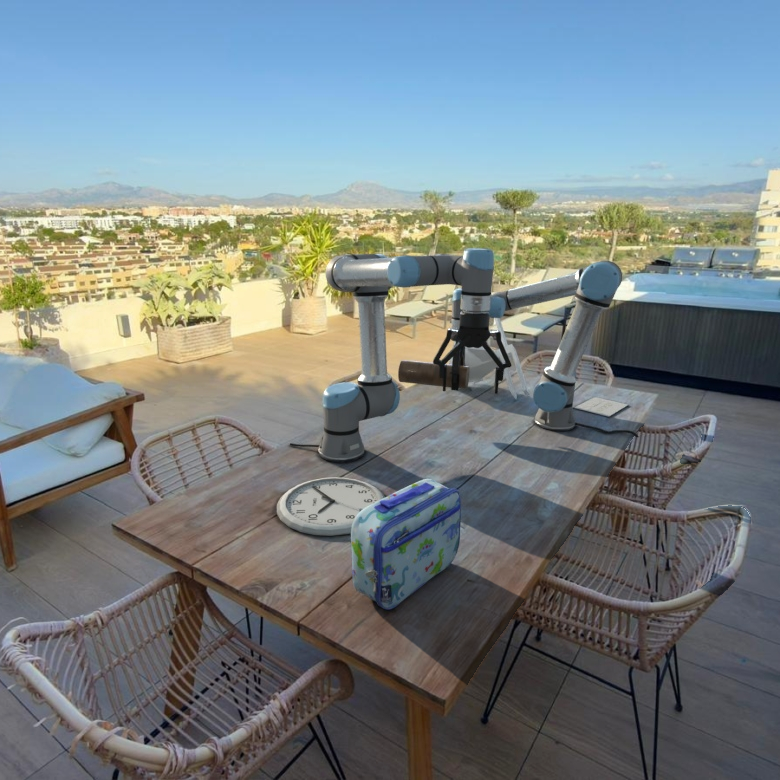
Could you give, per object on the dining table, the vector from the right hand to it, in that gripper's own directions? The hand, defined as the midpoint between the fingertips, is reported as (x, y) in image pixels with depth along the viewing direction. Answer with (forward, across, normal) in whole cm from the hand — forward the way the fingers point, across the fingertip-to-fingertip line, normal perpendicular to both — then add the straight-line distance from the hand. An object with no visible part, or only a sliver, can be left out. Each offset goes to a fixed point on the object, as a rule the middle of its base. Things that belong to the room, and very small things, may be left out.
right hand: (457, 386), depth 205 cm
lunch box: (+13, +103, +9) cm, 104 cm away
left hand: (-18, +62, +14) cm, 66 cm away
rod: (0, 0, -10) cm, 10 cm away
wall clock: (+13, +79, -19) cm, 82 cm away
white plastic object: (+13, -38, +4) cm, 41 cm away
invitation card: (+13, -36, +57) cm, 69 cm away
